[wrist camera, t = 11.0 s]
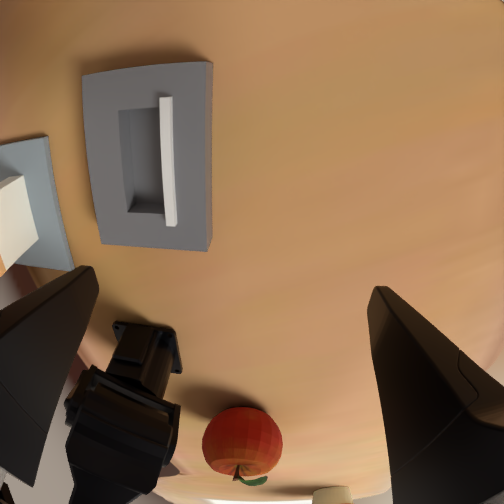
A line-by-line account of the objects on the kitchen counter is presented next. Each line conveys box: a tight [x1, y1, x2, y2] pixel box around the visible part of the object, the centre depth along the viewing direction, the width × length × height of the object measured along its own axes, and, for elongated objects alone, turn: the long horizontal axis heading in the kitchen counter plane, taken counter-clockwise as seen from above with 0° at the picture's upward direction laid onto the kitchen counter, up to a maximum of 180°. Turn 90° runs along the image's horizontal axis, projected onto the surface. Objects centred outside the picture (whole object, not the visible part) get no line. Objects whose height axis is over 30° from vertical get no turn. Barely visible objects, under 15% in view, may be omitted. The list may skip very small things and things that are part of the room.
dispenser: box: [82, 61, 213, 252], centre depth 18 cm, size 12×8×2 cm, turn 178°
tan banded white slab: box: [0, 175, 39, 277], centre depth 19 cm, size 6×2×6 cm, turn 178°
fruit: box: [202, 407, 283, 486], centre depth 31 cm, size 10×10×10 cm
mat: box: [0, 136, 75, 271], centre depth 22 cm, size 12×8×1 cm, turn 178°
